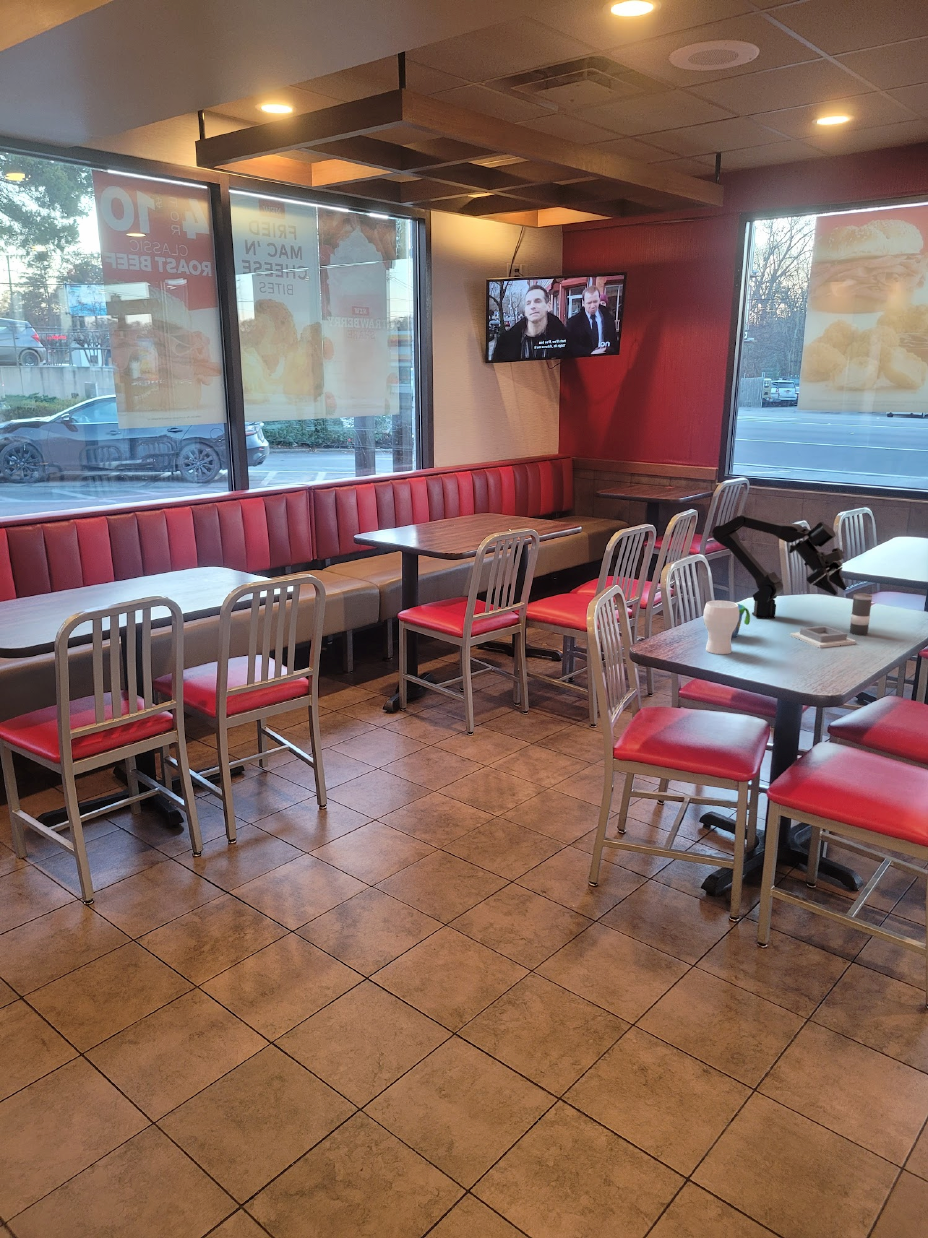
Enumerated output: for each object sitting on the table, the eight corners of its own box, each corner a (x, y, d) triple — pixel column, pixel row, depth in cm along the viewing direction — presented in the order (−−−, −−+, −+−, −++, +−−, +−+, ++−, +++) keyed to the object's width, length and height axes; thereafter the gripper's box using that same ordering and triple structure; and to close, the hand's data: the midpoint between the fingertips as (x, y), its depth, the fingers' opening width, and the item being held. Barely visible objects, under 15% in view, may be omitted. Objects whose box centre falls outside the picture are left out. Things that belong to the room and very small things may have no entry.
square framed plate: (790, 636, 295) (791, 627, 295) (825, 632, 300) (826, 623, 299) (819, 648, 283) (820, 638, 282) (855, 643, 287) (856, 634, 286)
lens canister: (853, 635, 296) (858, 597, 293) (846, 630, 302) (851, 593, 298) (870, 635, 296) (875, 597, 293) (863, 630, 302) (867, 593, 298)
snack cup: (741, 630, 302) (743, 600, 300) (755, 639, 292) (758, 608, 290) (697, 631, 300) (699, 602, 298) (709, 640, 290) (711, 610, 288)
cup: (712, 657, 274) (715, 609, 270) (694, 647, 283) (697, 601, 279) (742, 654, 276) (747, 607, 272) (724, 644, 286) (728, 598, 282)
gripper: (820, 544, 292) (851, 582, 288) (839, 536, 306) (869, 573, 302) (793, 565, 299) (823, 602, 295) (813, 556, 313) (842, 592, 309)
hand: (840, 591), depth 300 cm, fingers open, 9 cm apart
